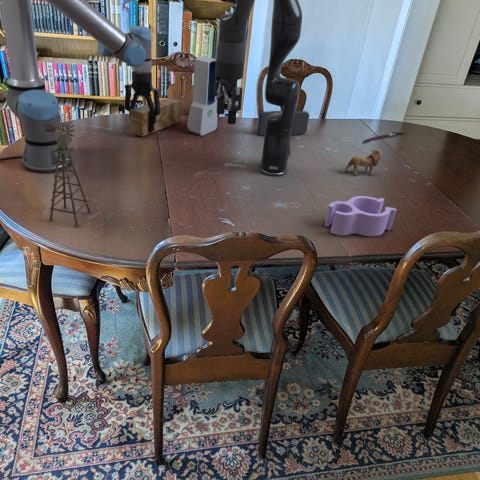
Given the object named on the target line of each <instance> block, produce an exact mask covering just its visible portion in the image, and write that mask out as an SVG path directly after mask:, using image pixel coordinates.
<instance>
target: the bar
mask: <svg viewBox="0 0 480 480" xmlns="http://www.w3.org/2000/svg"><path fill="white" fill-rule="evenodd" d="M159 101H160V109H161V113H160V114H159V115H156V123H155V124H154V131H153V132H150V116H151V112H150V109H149V107H148V104H143V105H140V106H138V107H135V108H134V109H131V110H130V119H129V121H130V122H129V125H130V127H129V128H130V129H129V130H130V134H133V135H136V136H140V137H145V136H148V135H150V134H152V133H156V132H158V131H160V130H163V129H165V128H168V127H170V126H173V125H175V124H178V123H181V112H182V100H181V99H177V98H173V97H166V98H164V99H159ZM153 104H154V101H153ZM154 107H155V104H154Z"/></svg>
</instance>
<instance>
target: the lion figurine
mask: <svg viewBox="0 0 480 480" xmlns="http://www.w3.org/2000/svg"><path fill="white" fill-rule="evenodd" d="M382 157H383V153H382V151H381V150H380V149H374V150H372V152H371V153H370V154H369V155H367V156H365V157H364V156H359V155H354V156H352V157H351V158H350V160H349V161H348V163H347V165H346V166H345V168H344V169H345V170H344V172H343V173H344V174H346V173H347V172H349V168H350V167H353V169H352V172H353V174H354V175H355V176H358V174H359V173H358V172H357V170H358V168H359V166H360V167H361V168H364V170H363V171H364V172H365V173H368V175H369V176H372V175H373V173H372V171H373V169H374V167H376V166H378V165H379V164H380V161H381V159H382ZM368 168H369V169H368Z"/></svg>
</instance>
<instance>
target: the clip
mask: <svg viewBox="0 0 480 480" xmlns="http://www.w3.org/2000/svg"><path fill="white" fill-rule="evenodd" d="M384 201H385V198H383V197H379V198H376V197H373V196H368V195H357V196H352V197H350V198H349V200H347V201H339V200H338V201H337V200H335V201H332V202H330V203H329V205H328V208H327V214H326V218H325V222H324V227H326V228H329V227H330V226H331V227H330V233H331V234H333V235H336V236H348V235H353V234H356V235H360V236H364V237H365V236H366V237H378V236H381V235H382V234H384V232H385V230H387V231H391V229H392V226H393V222H394V219H395V216H396V213H397V210H398V209H397V208H395V207H391V206H385V207H384V211H383V212H382V209H383V206H384Z"/></svg>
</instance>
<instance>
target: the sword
mask: <svg viewBox="0 0 480 480" xmlns="http://www.w3.org/2000/svg"><path fill="white" fill-rule="evenodd" d="M401 132H402V131H396V132H394V131H392V132H391V133H387V134H383V135H377V136H374V137H369V138H367V139H365V140H363V144H365V143H367V142H370V141H373V140H377V139H382V138H387V137H393V136H397V135H401V134H402V133H401ZM406 133H407V131H406V132H405V133H404V134H406Z"/></svg>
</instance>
